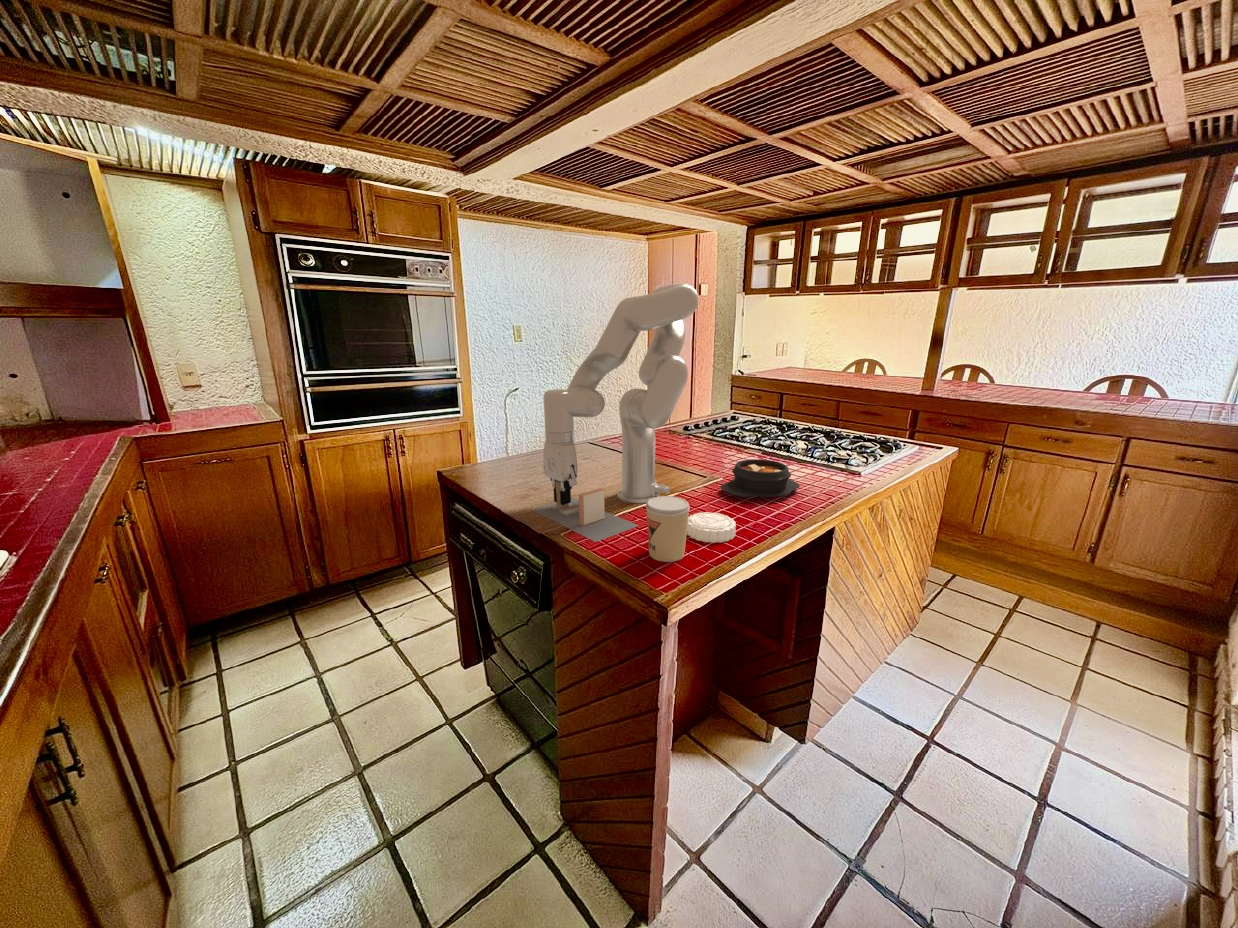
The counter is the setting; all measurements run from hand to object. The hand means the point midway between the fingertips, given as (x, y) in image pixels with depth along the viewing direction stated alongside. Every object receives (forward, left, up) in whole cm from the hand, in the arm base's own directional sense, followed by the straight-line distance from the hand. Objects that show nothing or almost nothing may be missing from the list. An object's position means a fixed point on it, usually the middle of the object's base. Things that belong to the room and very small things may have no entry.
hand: (562, 501), depth 132 cm
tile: (-10, +8, -2) cm, 13 cm away
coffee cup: (-30, +23, -2) cm, 38 cm away
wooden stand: (-2, +1, -2) cm, 3 cm away
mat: (-7, +6, -2) cm, 9 cm away
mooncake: (-40, +10, -3) cm, 41 cm away
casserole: (-56, -22, -2) cm, 60 cm away
